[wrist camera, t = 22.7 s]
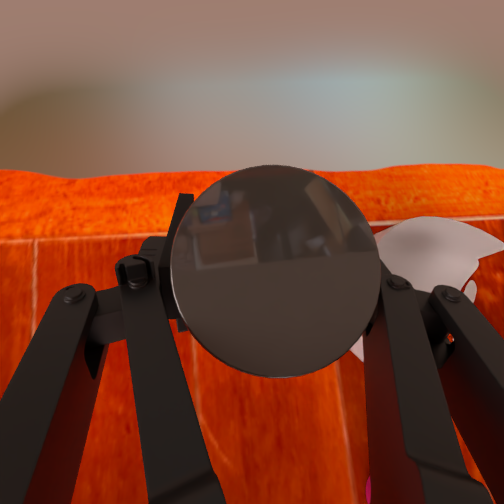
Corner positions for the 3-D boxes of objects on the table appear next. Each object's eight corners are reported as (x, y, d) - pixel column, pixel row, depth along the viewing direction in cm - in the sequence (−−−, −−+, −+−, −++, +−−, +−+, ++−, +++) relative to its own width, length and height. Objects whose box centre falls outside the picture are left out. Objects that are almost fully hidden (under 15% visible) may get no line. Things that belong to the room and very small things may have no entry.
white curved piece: (349, 216, 45) (396, 184, 33) (460, 270, 45) (544, 258, 34) (299, 341, 40) (333, 354, 29) (422, 399, 41) (504, 435, 29)
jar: (201, 350, 17) (184, 401, 9) (186, 235, 18) (157, 174, 10) (313, 329, 18) (403, 355, 9) (293, 221, 19) (357, 154, 10)
